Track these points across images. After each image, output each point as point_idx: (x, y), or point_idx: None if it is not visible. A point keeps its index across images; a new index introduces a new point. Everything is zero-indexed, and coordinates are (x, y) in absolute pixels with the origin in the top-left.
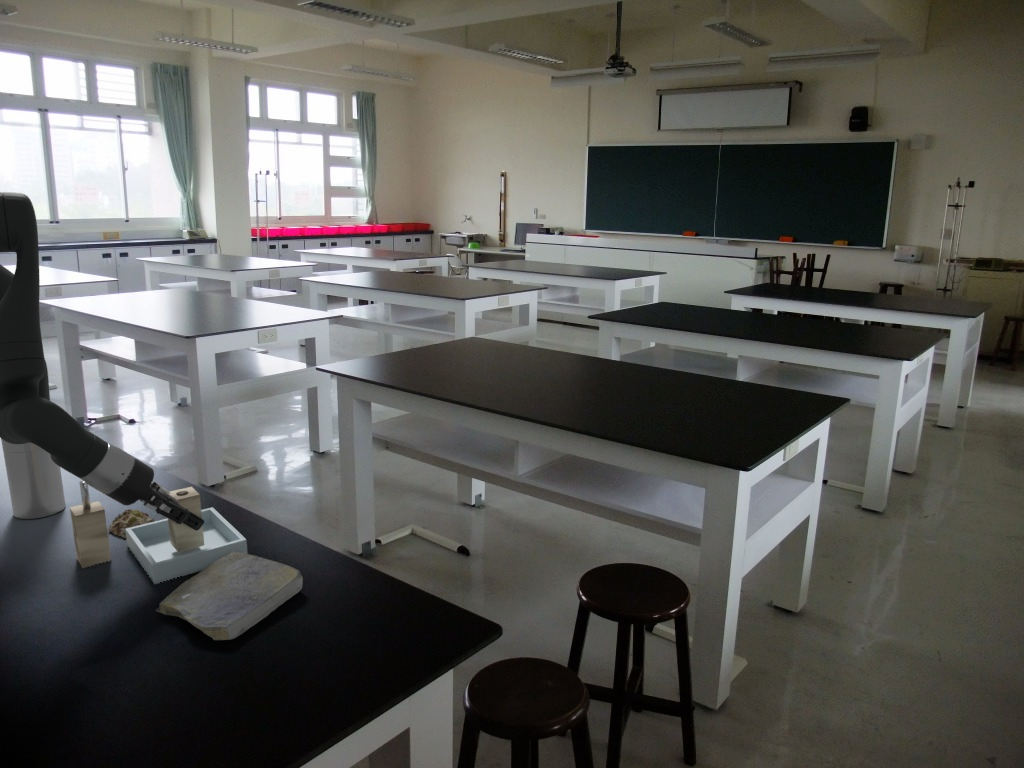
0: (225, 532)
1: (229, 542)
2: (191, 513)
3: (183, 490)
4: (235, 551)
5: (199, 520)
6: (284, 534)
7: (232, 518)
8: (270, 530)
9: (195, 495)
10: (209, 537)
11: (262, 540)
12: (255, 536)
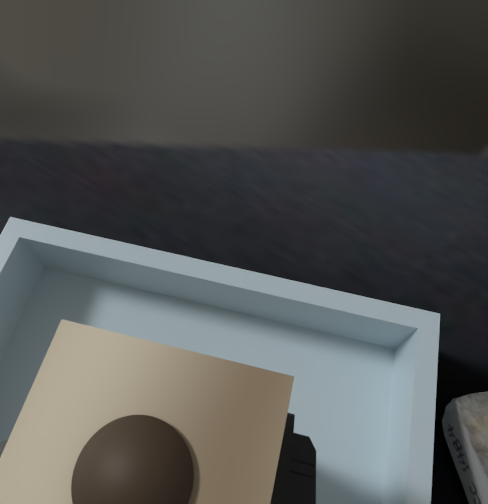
0: (215, 297)
1: (417, 381)
2: (287, 493)
3: (75, 423)
4: (471, 396)
5: (293, 444)
6: (334, 164)
7: (68, 192)
8: (269, 172)
9: (284, 415)
10: None
11: (319, 230)
12: (270, 226)
